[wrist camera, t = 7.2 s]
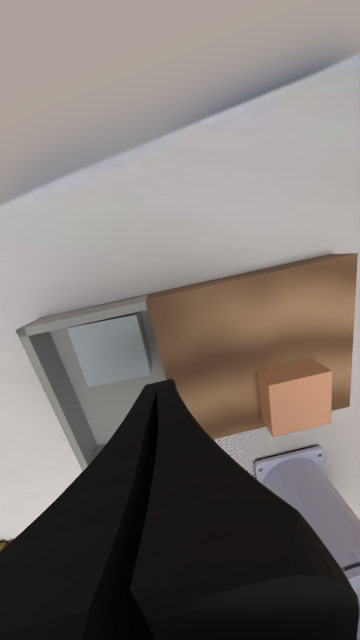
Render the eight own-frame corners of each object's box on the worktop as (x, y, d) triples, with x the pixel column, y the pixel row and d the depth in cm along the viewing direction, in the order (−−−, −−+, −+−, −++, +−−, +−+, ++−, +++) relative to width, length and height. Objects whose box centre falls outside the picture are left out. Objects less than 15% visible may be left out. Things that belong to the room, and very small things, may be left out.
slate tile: (151, 362, 18) (150, 374, 16) (95, 373, 18) (88, 387, 16) (138, 308, 17) (136, 314, 15) (77, 320, 16) (66, 328, 15)
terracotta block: (313, 406, 19) (331, 422, 17) (261, 418, 19) (272, 437, 17) (313, 358, 17) (332, 370, 15) (256, 371, 17) (268, 386, 15)
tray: (181, 425, 21) (184, 452, 18) (95, 446, 21) (85, 476, 18) (147, 294, 17) (145, 301, 14) (40, 317, 17) (15, 330, 14)
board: (329, 390, 21) (349, 406, 19) (181, 425, 21) (183, 446, 19) (331, 254, 17) (357, 253, 15) (147, 294, 17) (145, 299, 15)
